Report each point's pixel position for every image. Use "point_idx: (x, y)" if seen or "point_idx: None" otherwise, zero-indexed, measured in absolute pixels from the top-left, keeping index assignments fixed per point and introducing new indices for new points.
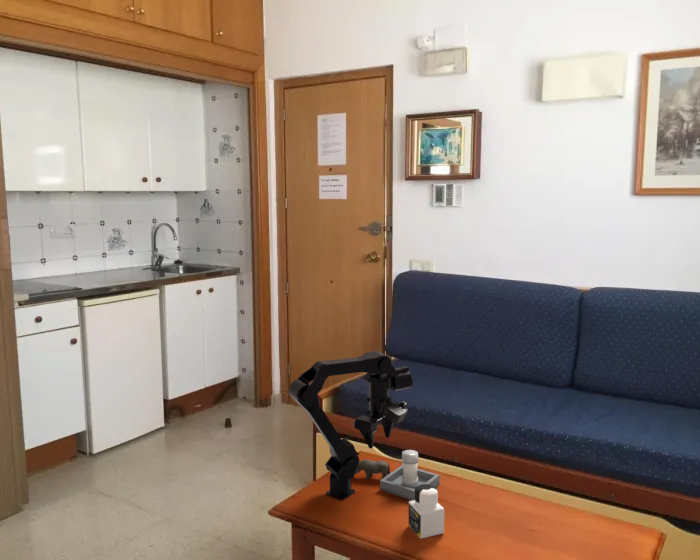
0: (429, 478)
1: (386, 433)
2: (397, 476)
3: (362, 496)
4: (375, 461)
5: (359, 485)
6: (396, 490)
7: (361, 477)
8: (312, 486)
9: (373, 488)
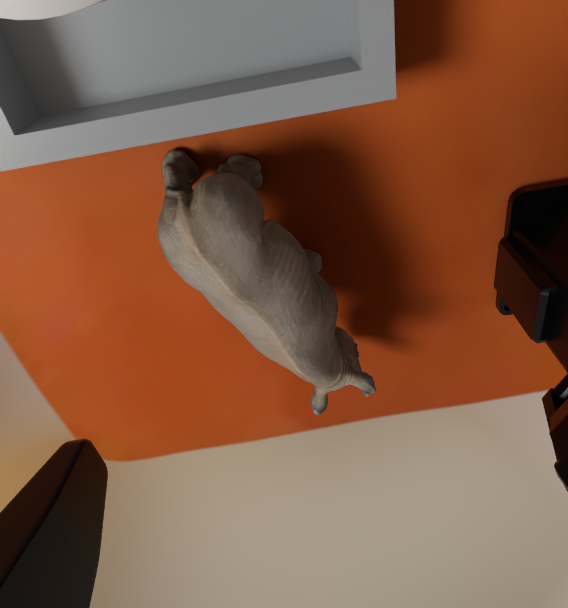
0: None
1: (83, 532)
2: (142, 99)
3: (542, 106)
4: (257, 307)
5: (411, 234)
6: None
7: None
8: None
9: (389, 135)
